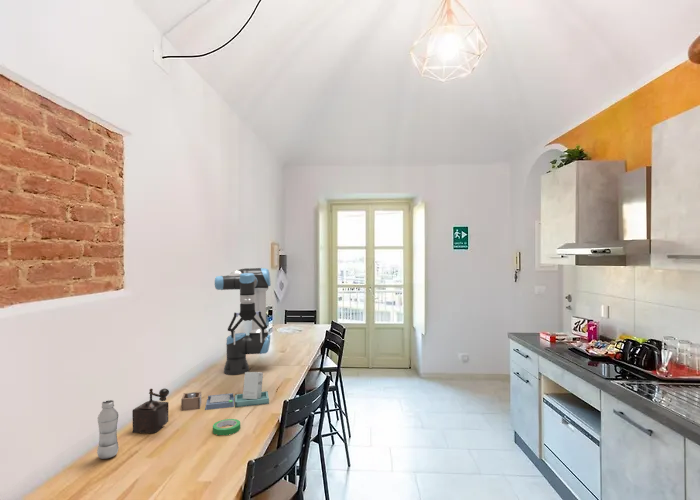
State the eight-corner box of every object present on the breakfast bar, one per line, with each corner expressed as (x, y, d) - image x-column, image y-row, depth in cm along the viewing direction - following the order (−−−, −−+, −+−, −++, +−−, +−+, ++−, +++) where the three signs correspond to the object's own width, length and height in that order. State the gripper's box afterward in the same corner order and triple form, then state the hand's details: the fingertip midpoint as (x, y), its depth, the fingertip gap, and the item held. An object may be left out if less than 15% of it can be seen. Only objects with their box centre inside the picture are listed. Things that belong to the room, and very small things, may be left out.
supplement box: (256, 399, 192) (258, 372, 195) (242, 399, 192) (244, 372, 196) (261, 398, 199) (263, 372, 202) (247, 398, 199) (249, 372, 203)
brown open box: (183, 405, 192) (183, 393, 192) (201, 404, 194) (201, 391, 194) (181, 412, 184) (181, 399, 184) (199, 410, 186) (199, 397, 186)
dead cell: (188, 405, 190) (188, 392, 190) (196, 404, 191) (196, 392, 191) (187, 408, 187) (187, 395, 187) (195, 407, 187) (195, 394, 188)
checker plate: (211, 398, 195) (211, 396, 195) (230, 396, 198) (230, 394, 198) (209, 405, 187) (209, 402, 187) (229, 402, 189) (229, 400, 189)
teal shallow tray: (235, 399, 199) (235, 394, 199) (267, 396, 204) (267, 391, 204) (235, 407, 189) (234, 402, 189) (268, 403, 193) (268, 398, 193)
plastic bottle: (103, 452, 147) (102, 399, 147) (122, 451, 147) (121, 398, 147) (93, 462, 140) (93, 405, 140) (113, 461, 141) (112, 404, 141)
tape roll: (218, 424, 171) (218, 418, 171) (243, 424, 171) (243, 418, 171) (208, 436, 160) (208, 429, 160) (235, 436, 160) (235, 429, 160)
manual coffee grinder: (130, 433, 163) (130, 389, 163) (146, 422, 174) (146, 381, 174) (165, 434, 161) (165, 390, 161) (180, 423, 172) (180, 381, 172)
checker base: (207, 401, 197) (207, 394, 197) (234, 398, 200) (234, 391, 200) (204, 411, 184) (204, 403, 184) (233, 408, 188) (233, 400, 188)
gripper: (222, 305, 199) (222, 346, 200) (272, 302, 206) (272, 342, 207) (222, 302, 207) (223, 343, 207) (271, 300, 214) (271, 339, 214)
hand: (247, 343), depth 207 cm, fingers open, 13 cm apart
